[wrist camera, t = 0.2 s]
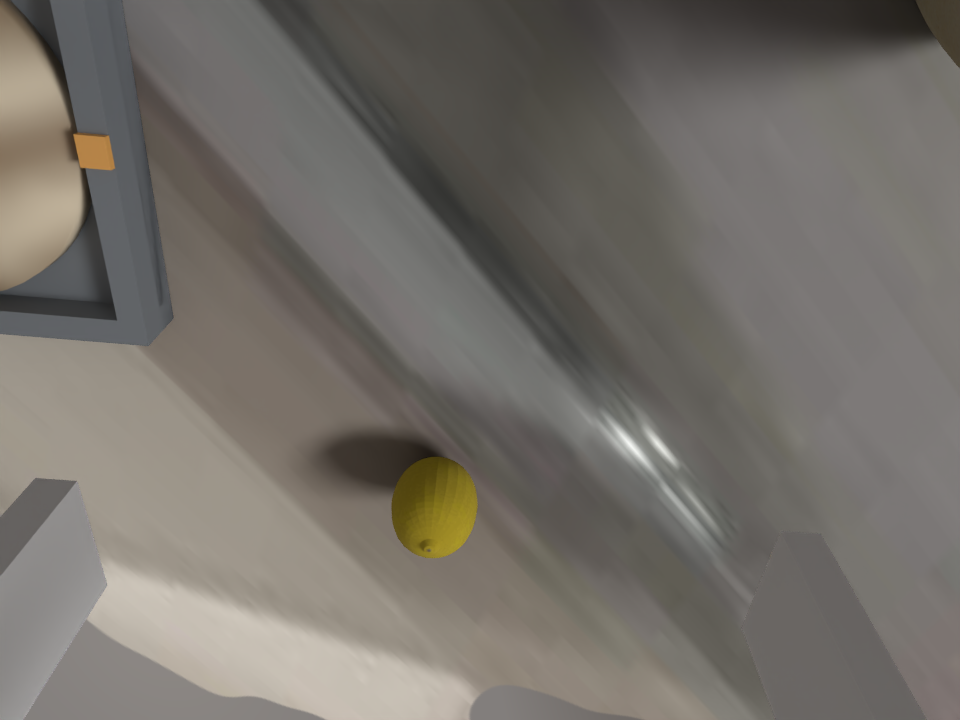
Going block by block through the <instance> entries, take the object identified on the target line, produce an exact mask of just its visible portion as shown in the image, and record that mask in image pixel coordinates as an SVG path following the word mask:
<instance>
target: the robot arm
mask: <svg viewBox="0 0 960 720" xmlns="http://www.w3.org/2000/svg"><path fill="white" fill-rule="evenodd" d="M106 586H107V582H106V578H105V575H104V571H103V568H102V564H101V561H100V557H99V554H98V551H97V547H96V544H95V540H94V537H93V533H92V530H91V526H90V523H89V520H88V516H87V513H86V509H85V506H84V502H83V499H82V495H81V492H80V489H79V485H78V482H77V481H69V480H55V479H40V478H35V479H34V480H33V481H32V482H31V484H30V485H29V486H28V487H27V488H26V489H25V490H24V491H23V492H22V494H21V495H20V496H19V497H18V498H17V499H16V500H15V501H14V503H13V504H12V505H11V506H10V507H9V508H8V509H7V510H6V512H5V513H4V514H3V515H2V516H1V517H0V720H23V719H24V718H25V716H26V714H27V713H28V711H29V710H30V708H31V706H32V705H33V703H34V702H35V700H36V698H37V697H38V695H39V694H40V692H41V690H42V689H43V687H44V686H45V684H46V682H47V681H48V679H49V678H50V676H51V674H52V672H53V671H54V670H55V668H56V666H57V665H58V663H59V662H60V660H61V658H62V657H63V655H64V654H65V652H66V650H67V649H68V647H69V646H70V644H71V642H72V641H73V639H74V638H75V636H76V634H77V633H78V631H79V629H80V628H81V626H82V624H83V623H84V621H85V620H86V618H87V617H88V615H89V614H90V612H91V610H92V609H93V607H94V606H95V604H96V602H97V601H98V599H99V598H100V596H101V594H102V593H103V591H104V590H105V588H106ZM741 628H742V631H743V633H744V636H745V639H746V642H747V644H748V647H749V650H750V652H751V655H752V658H753V660H754V663H755V666H756V669H757V671H758V674H759V677H760V679H761V682H762V685H763V688H764V690H765V693H766V696H767V698H768V701H769V704H770V706H771V709H772V712H773V715H774V717H775V720H927V719H926V717H925V715H924V714H923V712H922V710H921V708H920V707H919V705H918V703H917V701H916V700H915V698H914V696H913V694H912V693H911V691H910V689H909V687H908V686H907V684H906V682H905V680H904V679H903V677H902V675H901V673H900V672H899V670H898V668H897V666H896V665H895V663H894V661H893V659H892V657H891V656H890V654H889V652H888V650H887V649H886V647H885V645H884V643H883V642H882V640H881V638H880V636H879V635H878V633H877V631H876V629H875V628H874V626H873V624H872V622H871V621H870V619H869V617H868V615H867V614H866V612H865V610H864V608H863V607H862V605H861V603H860V601H859V600H858V598H857V596H856V594H855V593H854V591H853V589H852V587H851V586H850V584H849V582H848V580H847V579H846V577H845V575H844V573H843V572H842V570H841V568H840V566H839V565H838V563H837V561H836V559H835V557H834V556H833V554H832V552H831V550H830V549H829V547H828V545H827V543H826V542H825V540H824V538H823V536H822V535H821V534H818V533H804V532H790V531H781V532H780V534H779V537H778V539H777V541H776V544H775V546H774V549H773V551H772V554H771V556H770V559H769V561H768V564H767V566H766V568H765V571H764V573H763V576H762V578H761V581H760V583H759V586H758V588H757V591H756V593H755V595H754V598H753V600H752V603H751V605H750V608H749V610H748V613H747V615H746V618H745V620H744V622H743V625H742V627H741Z"/></svg>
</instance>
